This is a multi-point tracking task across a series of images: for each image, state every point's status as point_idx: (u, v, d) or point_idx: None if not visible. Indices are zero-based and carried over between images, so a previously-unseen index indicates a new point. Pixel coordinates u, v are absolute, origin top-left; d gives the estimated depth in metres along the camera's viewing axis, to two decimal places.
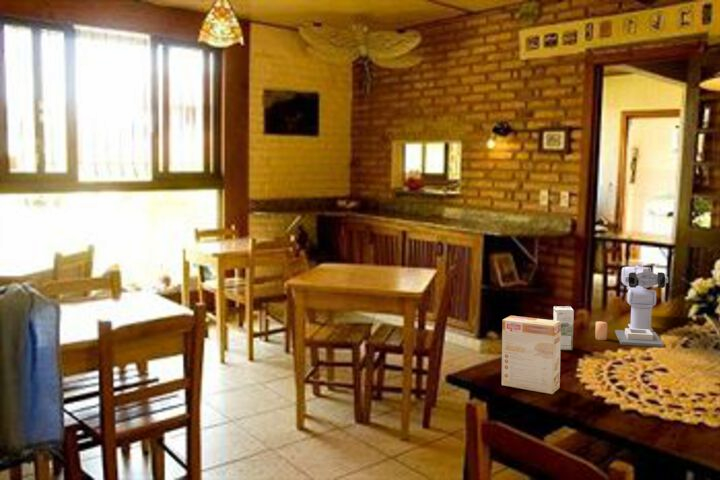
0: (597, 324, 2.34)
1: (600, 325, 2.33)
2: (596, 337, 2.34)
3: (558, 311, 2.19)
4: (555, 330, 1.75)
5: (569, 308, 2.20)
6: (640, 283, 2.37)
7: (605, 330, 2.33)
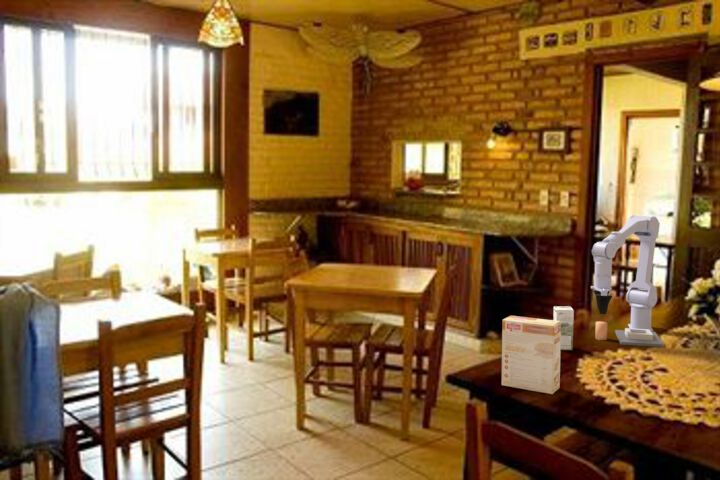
0: (597, 324, 2.34)
1: (600, 325, 2.33)
2: (596, 337, 2.34)
3: (558, 311, 2.19)
4: (555, 330, 1.75)
5: (569, 308, 2.20)
6: None
7: (605, 330, 2.33)
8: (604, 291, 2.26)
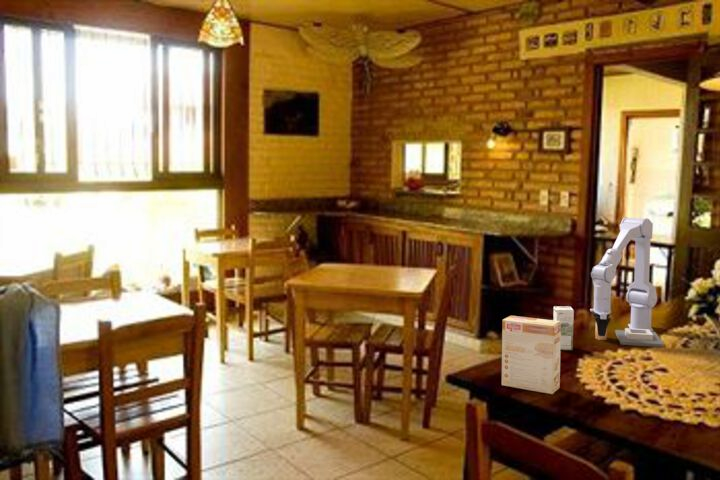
0: None
1: None
2: (596, 337, 2.34)
3: (558, 311, 2.19)
4: (555, 330, 1.75)
5: (569, 308, 2.20)
6: None
7: None
8: (603, 314, 2.27)
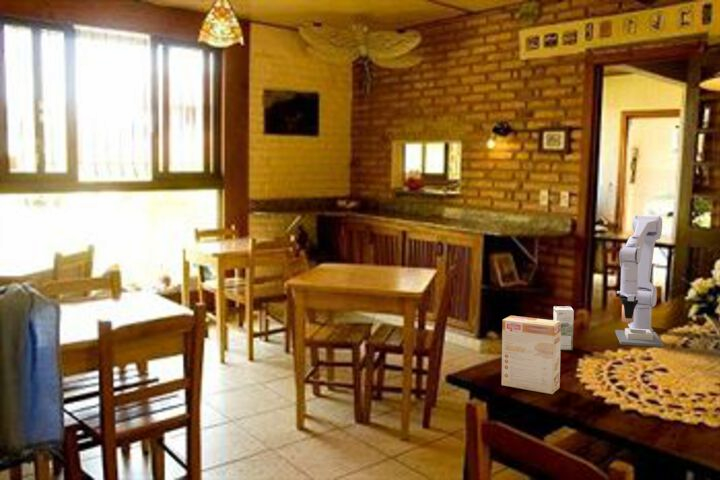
0: None
1: None
2: (623, 320, 2.33)
3: (558, 311, 2.19)
4: (555, 330, 1.75)
5: (569, 308, 2.20)
6: None
7: None
8: (631, 296, 2.25)
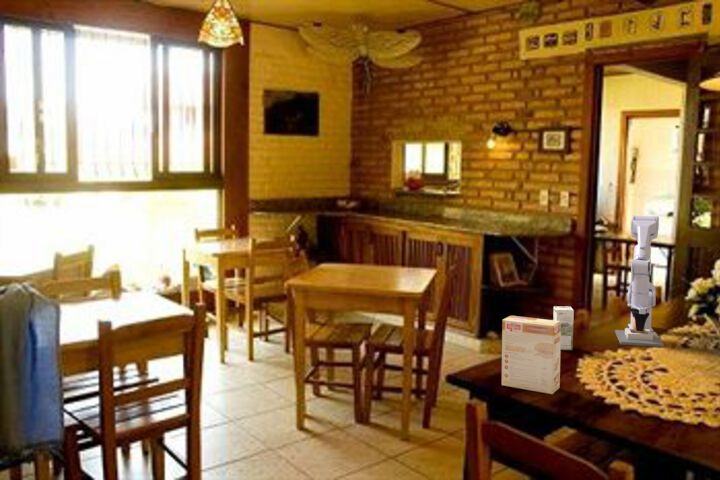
0: None
1: None
2: (634, 332, 2.33)
3: (558, 311, 2.19)
4: (555, 330, 1.75)
5: (569, 308, 2.20)
6: None
7: None
8: (642, 309, 2.25)
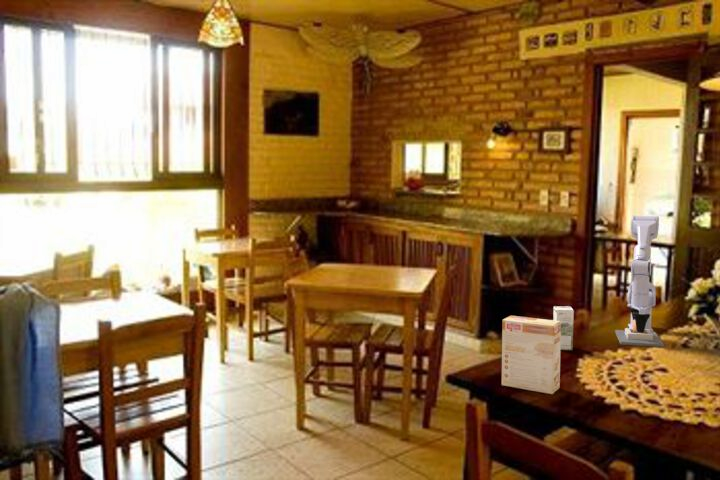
0: (635, 322, 2.32)
1: None
2: None
3: (558, 311, 2.19)
4: (555, 330, 1.75)
5: (569, 308, 2.20)
6: None
7: None
8: (642, 310, 2.25)
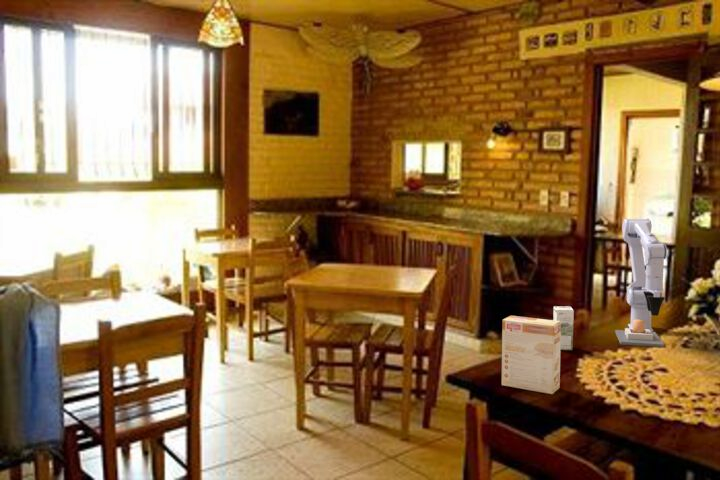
0: (635, 322, 2.32)
1: (638, 323, 2.31)
2: None
3: (558, 311, 2.19)
4: (555, 330, 1.75)
5: (569, 308, 2.20)
6: None
7: (643, 328, 2.31)
8: (657, 292, 2.26)
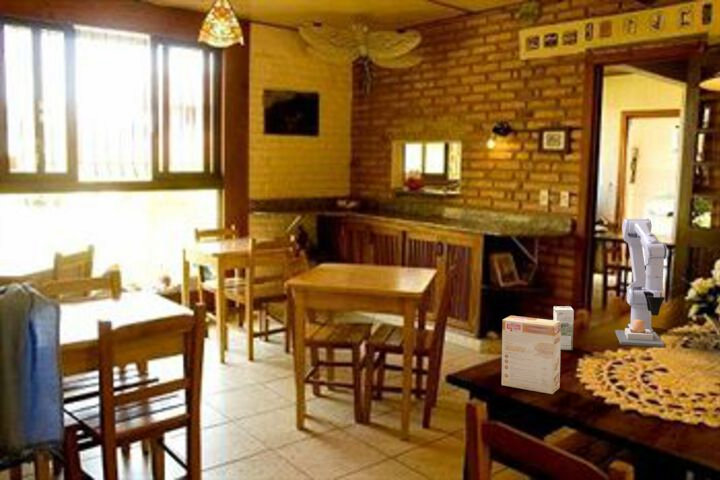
0: (635, 322, 2.32)
1: (638, 323, 2.31)
2: None
3: (558, 311, 2.19)
4: (555, 330, 1.75)
5: (569, 308, 2.20)
6: None
7: (643, 328, 2.31)
8: (657, 292, 2.26)
